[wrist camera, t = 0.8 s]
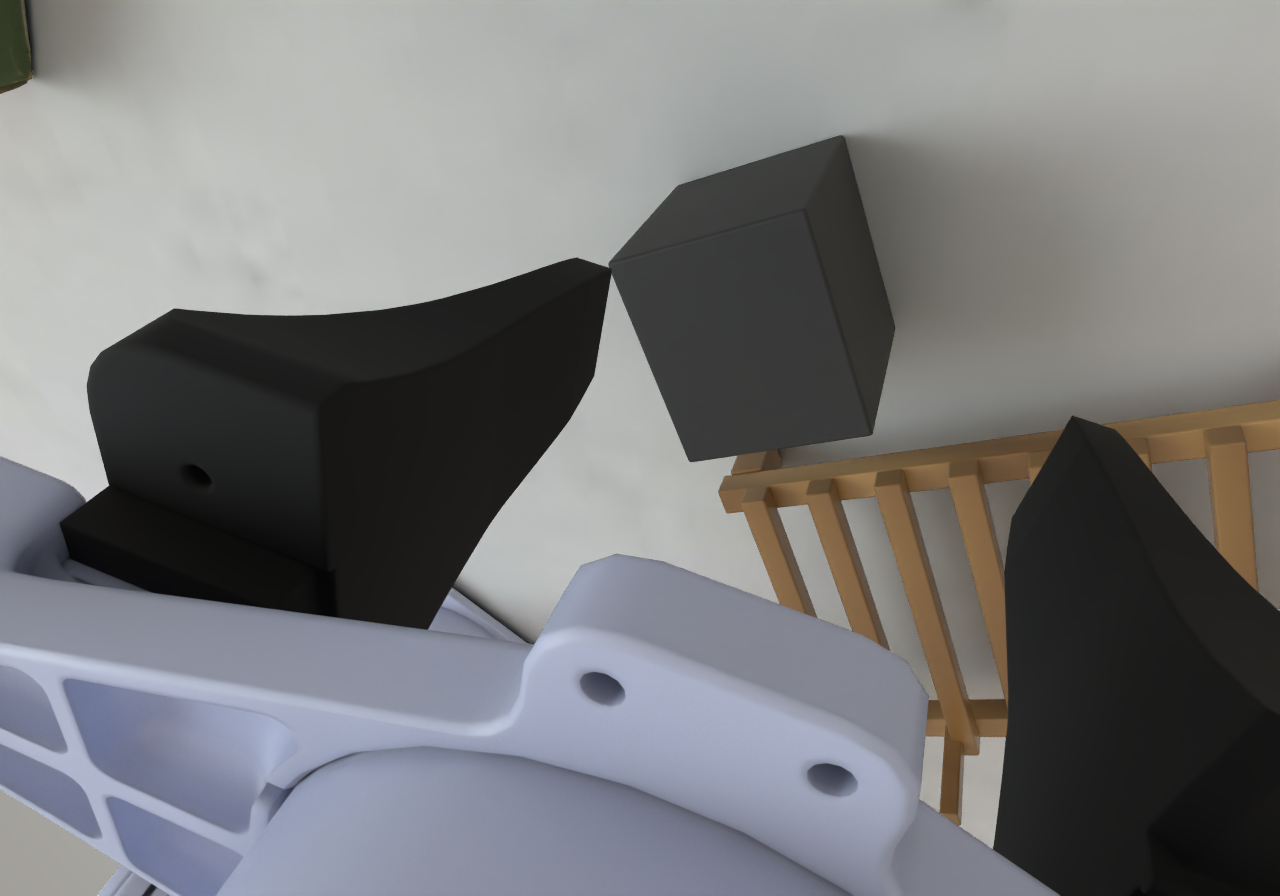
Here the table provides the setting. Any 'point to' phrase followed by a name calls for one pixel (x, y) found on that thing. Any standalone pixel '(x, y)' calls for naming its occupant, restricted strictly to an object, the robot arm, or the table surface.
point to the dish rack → (974, 537)
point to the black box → (762, 305)
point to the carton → (14, 45)
